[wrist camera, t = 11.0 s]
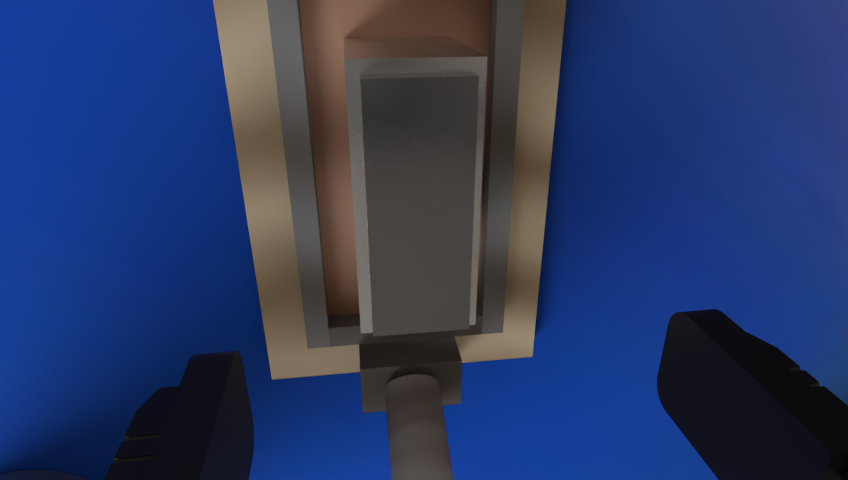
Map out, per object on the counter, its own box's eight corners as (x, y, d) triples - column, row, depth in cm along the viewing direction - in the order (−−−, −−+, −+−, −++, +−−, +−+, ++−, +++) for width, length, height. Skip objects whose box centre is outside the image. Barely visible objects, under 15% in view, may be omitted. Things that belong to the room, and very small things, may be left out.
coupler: (450, 36, 21) (494, 60, 15) (446, 249, 25) (480, 337, 19) (343, 37, 21) (344, 63, 14) (357, 255, 24) (361, 347, 18)
